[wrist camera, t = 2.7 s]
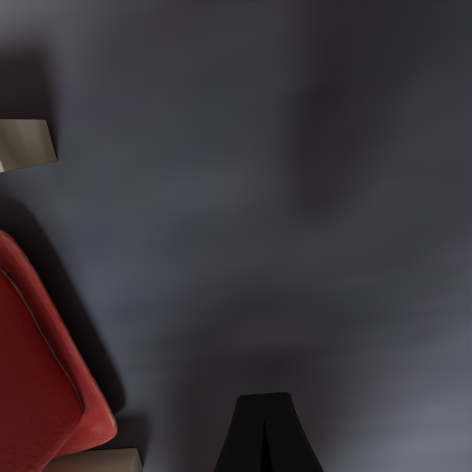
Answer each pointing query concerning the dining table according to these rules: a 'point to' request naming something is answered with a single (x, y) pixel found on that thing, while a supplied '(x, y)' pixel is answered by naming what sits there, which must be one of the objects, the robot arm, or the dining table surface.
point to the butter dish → (42, 375)
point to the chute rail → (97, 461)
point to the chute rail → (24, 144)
